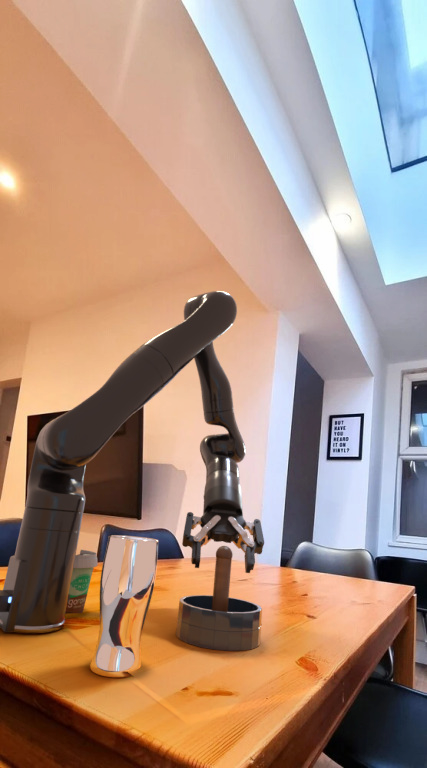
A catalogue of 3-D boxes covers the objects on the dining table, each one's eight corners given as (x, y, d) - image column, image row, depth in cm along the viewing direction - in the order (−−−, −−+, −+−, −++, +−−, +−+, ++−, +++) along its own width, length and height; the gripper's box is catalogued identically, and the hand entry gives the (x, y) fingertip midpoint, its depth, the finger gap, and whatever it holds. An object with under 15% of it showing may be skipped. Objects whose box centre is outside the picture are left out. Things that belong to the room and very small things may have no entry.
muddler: (215, 642, 64) (223, 546, 68) (199, 635, 67) (208, 544, 71) (235, 639, 66) (241, 547, 71) (219, 633, 70) (226, 545, 74)
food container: (66, 623, 68) (78, 557, 71) (33, 617, 70) (46, 553, 73) (101, 609, 80) (110, 553, 83) (72, 605, 81) (82, 549, 84)
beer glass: (93, 681, 47) (115, 538, 51) (80, 660, 53) (101, 533, 57) (152, 676, 50) (168, 541, 54) (133, 657, 56) (149, 537, 60)
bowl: (210, 660, 58) (213, 615, 59) (159, 633, 68) (164, 596, 70) (277, 650, 65) (278, 610, 67) (222, 627, 75) (225, 594, 77)
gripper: (189, 480, 82) (182, 547, 68) (261, 487, 83) (269, 555, 68) (185, 508, 86) (178, 578, 71) (255, 515, 86) (261, 586, 72)
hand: (223, 567), depth 70 cm, fingers open, 8 cm apart
